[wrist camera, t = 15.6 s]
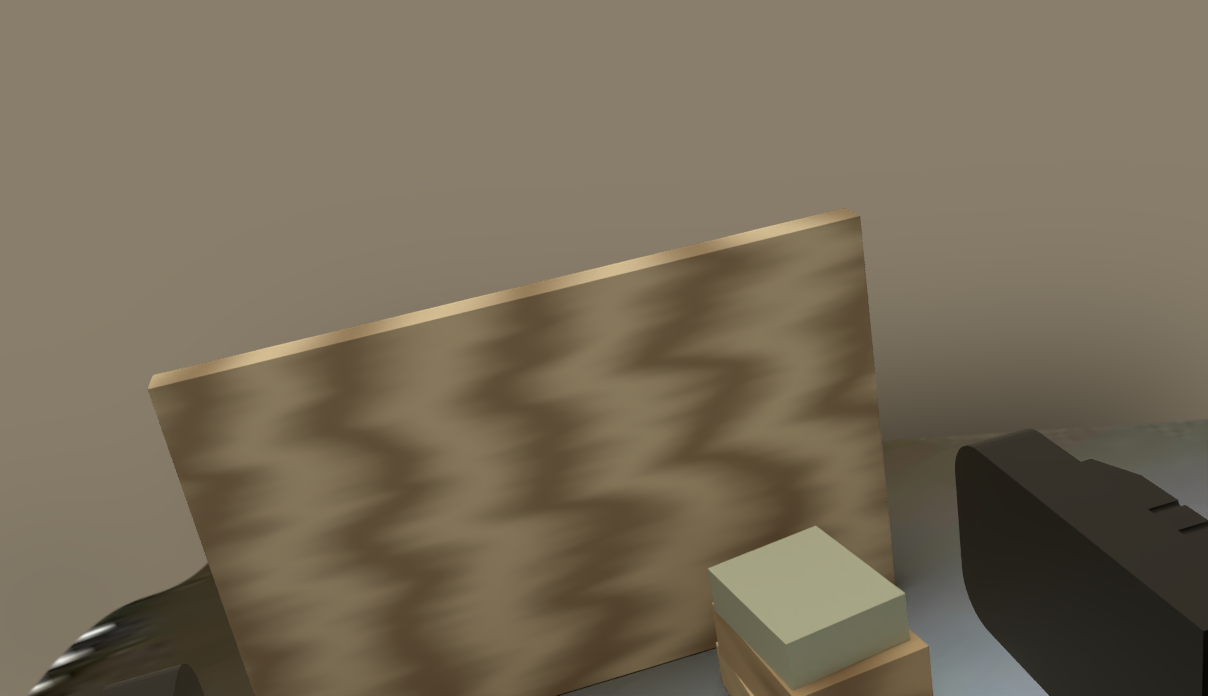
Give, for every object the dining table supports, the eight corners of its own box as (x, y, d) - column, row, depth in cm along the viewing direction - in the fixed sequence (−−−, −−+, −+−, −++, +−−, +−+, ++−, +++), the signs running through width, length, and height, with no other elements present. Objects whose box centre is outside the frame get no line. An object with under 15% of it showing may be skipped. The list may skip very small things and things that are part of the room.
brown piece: (820, 510, 60) (780, 177, 54) (896, 592, 52) (860, 215, 46) (287, 662, 56) (173, 320, 49) (283, 778, 48) (147, 389, 41)
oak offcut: (835, 608, 49) (829, 558, 48) (933, 701, 42) (929, 646, 42) (719, 653, 47) (711, 602, 46) (803, 756, 41) (795, 699, 40)
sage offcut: (821, 567, 47) (815, 525, 47) (910, 639, 42) (905, 593, 41) (714, 610, 46) (707, 568, 45) (792, 691, 41) (785, 644, 40)
